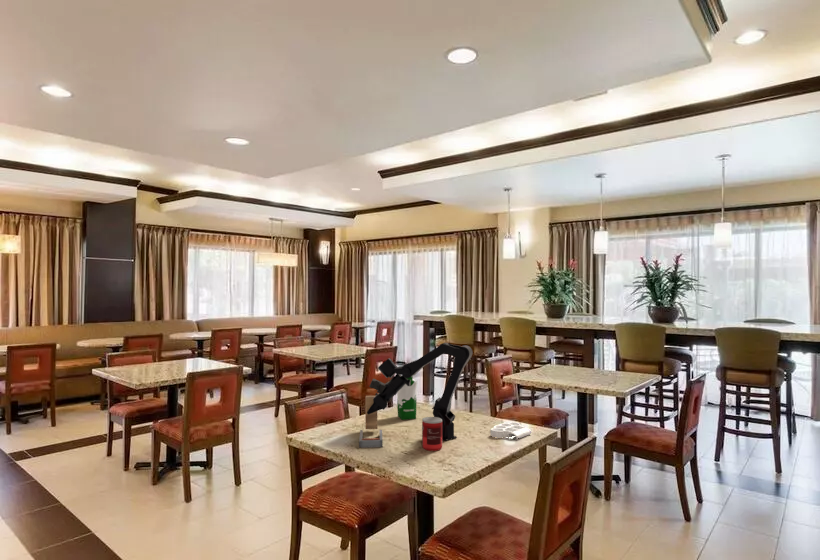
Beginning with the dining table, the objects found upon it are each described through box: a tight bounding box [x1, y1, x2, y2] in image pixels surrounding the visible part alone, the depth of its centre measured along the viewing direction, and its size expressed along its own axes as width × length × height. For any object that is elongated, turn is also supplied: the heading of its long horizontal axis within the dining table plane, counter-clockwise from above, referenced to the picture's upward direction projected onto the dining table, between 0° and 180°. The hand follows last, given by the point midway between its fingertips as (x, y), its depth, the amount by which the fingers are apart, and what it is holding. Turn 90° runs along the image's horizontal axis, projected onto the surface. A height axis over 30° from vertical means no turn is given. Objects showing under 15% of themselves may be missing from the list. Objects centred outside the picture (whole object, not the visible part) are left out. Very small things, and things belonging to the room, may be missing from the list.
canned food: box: [421, 416, 443, 452], centre depth 186 cm, size 8×8×11 cm
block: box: [364, 395, 378, 430], centre depth 206 cm, size 5×5×13 cm
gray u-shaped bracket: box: [358, 429, 384, 448], centre depth 194 cm, size 15×9×2 cm, turn 4°
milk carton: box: [396, 376, 418, 421], centre depth 232 cm, size 9×9×20 cm
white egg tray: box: [489, 421, 532, 440], centre depth 205 cm, size 3×18×15 cm
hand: (368, 411), depth 206 cm, fingers closed on block, 5 cm apart
